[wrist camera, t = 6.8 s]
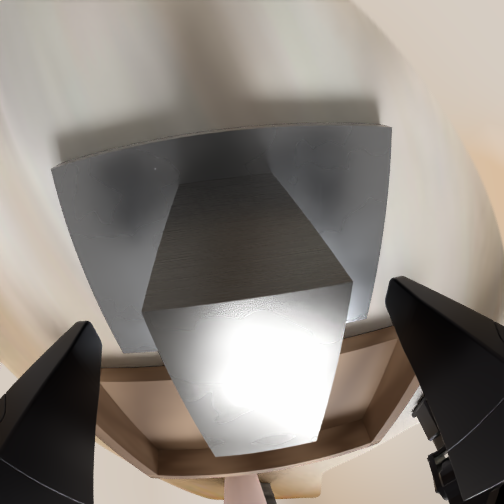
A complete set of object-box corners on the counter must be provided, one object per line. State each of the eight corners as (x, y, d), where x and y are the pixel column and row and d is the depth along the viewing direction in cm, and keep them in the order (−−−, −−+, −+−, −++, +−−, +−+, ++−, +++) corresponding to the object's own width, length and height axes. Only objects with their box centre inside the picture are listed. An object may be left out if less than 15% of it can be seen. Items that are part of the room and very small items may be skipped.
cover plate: (375, 123, 10) (531, 181, 4) (357, 303, 14) (421, 417, 8) (65, 160, 9) (-69, 259, 3) (127, 335, 13) (104, 466, 7)
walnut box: (403, 322, 15) (431, 364, 12) (365, 411, 21) (378, 442, 18) (88, 368, 14) (76, 417, 11) (152, 443, 20) (151, 477, 17)
